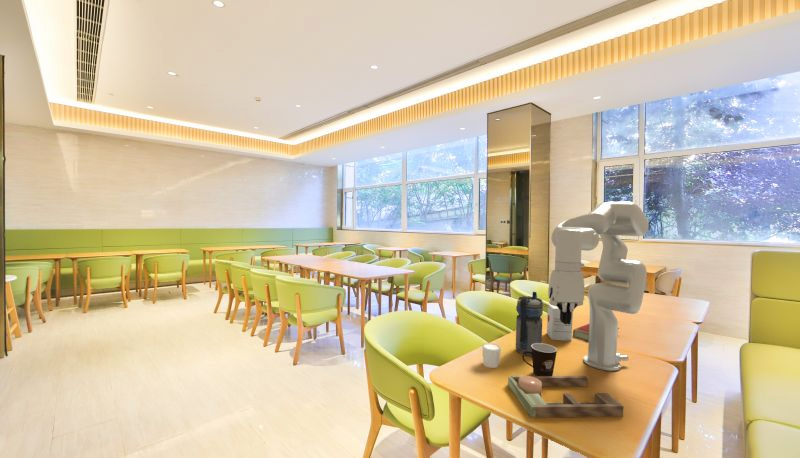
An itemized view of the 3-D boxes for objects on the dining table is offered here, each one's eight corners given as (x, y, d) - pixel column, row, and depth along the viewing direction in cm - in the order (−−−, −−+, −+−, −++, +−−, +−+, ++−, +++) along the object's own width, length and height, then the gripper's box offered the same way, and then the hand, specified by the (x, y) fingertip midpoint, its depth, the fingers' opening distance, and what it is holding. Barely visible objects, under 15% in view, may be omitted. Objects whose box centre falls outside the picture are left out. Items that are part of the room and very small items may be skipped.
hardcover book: (572, 337, 165) (573, 328, 165) (593, 328, 177) (593, 320, 177) (599, 344, 155) (599, 335, 155) (618, 335, 168) (619, 327, 168)
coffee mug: (554, 371, 127) (555, 345, 126) (557, 382, 119) (558, 354, 118) (521, 366, 131) (522, 340, 130) (521, 376, 123) (522, 349, 122)
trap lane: (585, 384, 118) (586, 375, 117) (623, 416, 99) (623, 405, 99) (507, 385, 116) (508, 375, 116) (531, 417, 98) (531, 406, 98)
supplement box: (546, 333, 168) (547, 303, 167) (565, 334, 167) (566, 304, 166) (551, 340, 159) (552, 308, 158) (572, 341, 158) (573, 309, 157)
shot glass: (500, 369, 128) (501, 351, 128) (482, 367, 129) (482, 349, 129) (499, 361, 135) (500, 344, 134) (481, 359, 136) (482, 342, 136)
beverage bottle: (508, 353, 143) (510, 294, 141) (522, 345, 152) (524, 289, 151) (532, 361, 136) (535, 298, 134) (545, 351, 145) (547, 293, 144)
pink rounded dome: (535, 389, 114) (536, 375, 114) (545, 400, 107) (545, 386, 107) (514, 389, 114) (515, 375, 114) (523, 400, 107) (523, 386, 107)
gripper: (583, 265, 114) (581, 319, 115) (539, 265, 113) (537, 319, 114) (597, 269, 107) (594, 326, 108) (550, 269, 106) (548, 327, 107)
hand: (565, 322), depth 111 cm, fingers closed
